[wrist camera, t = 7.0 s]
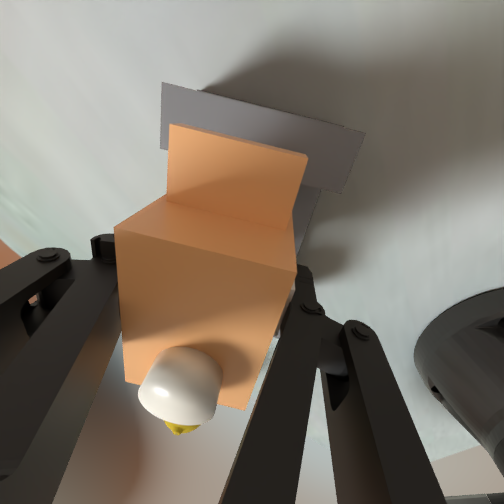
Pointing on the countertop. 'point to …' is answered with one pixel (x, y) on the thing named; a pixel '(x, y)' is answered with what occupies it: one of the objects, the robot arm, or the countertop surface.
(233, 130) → the grey stand
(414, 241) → the countertop surface
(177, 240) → the block
